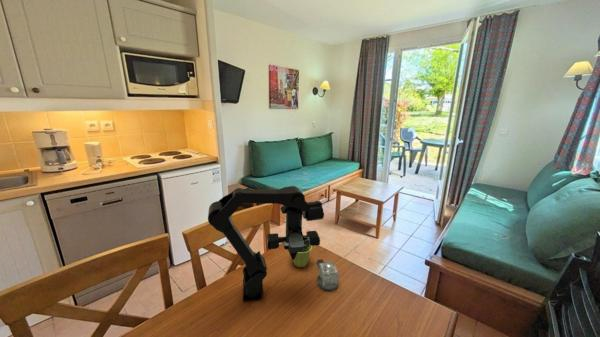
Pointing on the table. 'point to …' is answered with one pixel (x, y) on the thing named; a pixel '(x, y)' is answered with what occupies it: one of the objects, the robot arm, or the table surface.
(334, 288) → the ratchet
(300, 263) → the plant pot
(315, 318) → the table surface
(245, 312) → the table surface
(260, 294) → the robot arm
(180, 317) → the table surface
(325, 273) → the block with round boss
